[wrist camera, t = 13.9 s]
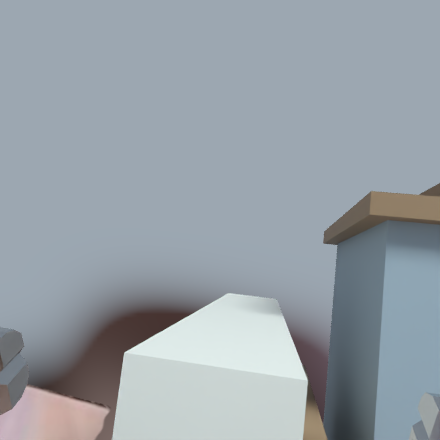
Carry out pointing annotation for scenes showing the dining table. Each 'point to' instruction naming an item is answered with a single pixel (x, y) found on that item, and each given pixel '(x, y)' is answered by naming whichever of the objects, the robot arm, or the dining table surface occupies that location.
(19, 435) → the dining table surface
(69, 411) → the dining table surface
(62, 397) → the dining table surface
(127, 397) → the white beam
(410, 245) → the cabinet
